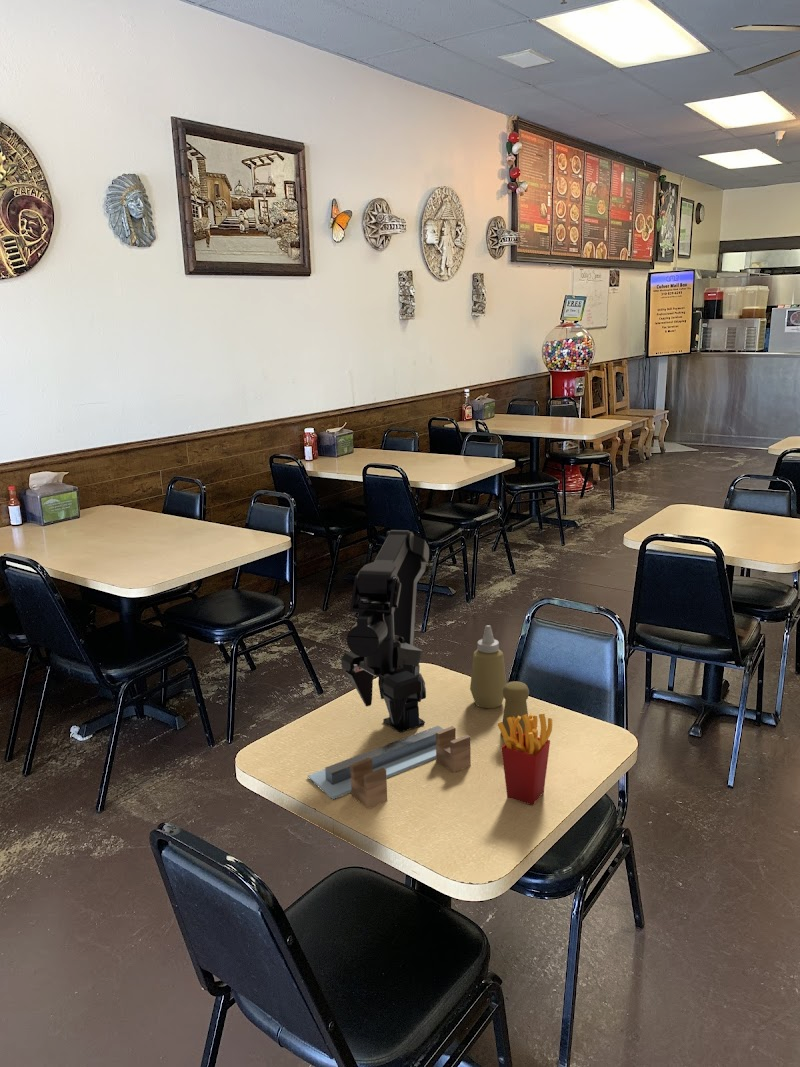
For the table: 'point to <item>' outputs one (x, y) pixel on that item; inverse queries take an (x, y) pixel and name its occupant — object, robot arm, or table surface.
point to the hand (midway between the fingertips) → (381, 714)
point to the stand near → (368, 783)
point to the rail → (384, 754)
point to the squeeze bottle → (488, 672)
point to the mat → (390, 768)
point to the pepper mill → (515, 703)
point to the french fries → (525, 757)
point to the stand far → (452, 749)
